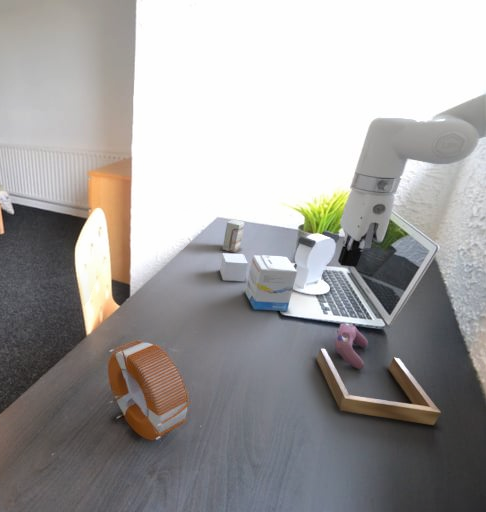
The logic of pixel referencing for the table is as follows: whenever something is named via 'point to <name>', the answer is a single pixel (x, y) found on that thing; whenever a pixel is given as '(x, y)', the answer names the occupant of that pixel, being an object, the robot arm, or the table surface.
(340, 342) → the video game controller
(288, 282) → the ink box
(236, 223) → the cosmetics bottle
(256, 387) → the table surface
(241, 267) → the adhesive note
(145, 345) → the coil
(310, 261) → the white curved upright piece
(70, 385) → the table surface
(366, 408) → the bay
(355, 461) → the table surface
